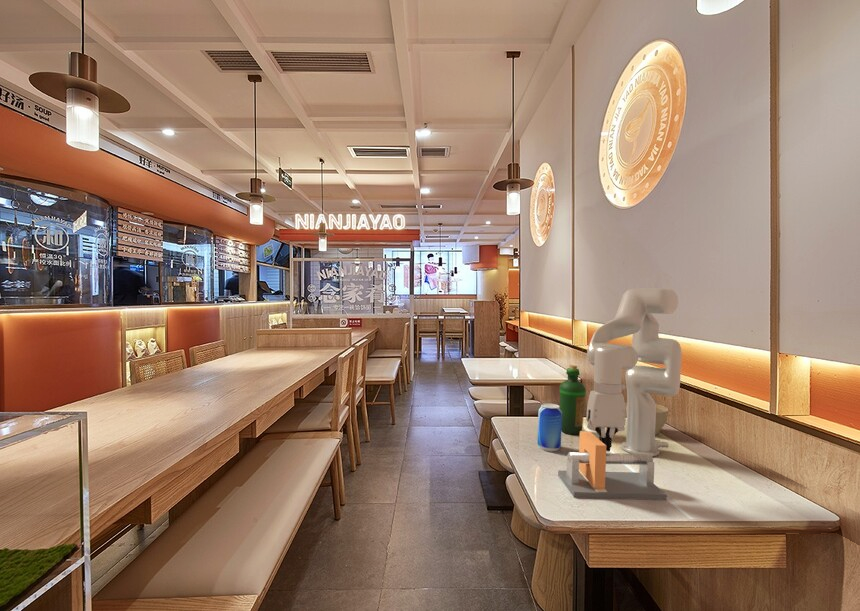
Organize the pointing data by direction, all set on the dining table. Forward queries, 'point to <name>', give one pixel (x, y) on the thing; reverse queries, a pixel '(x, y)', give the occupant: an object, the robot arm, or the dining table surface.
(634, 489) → the base board
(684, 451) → the dining table surface
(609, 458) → the pipe
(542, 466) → the dining table surface
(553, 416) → the beer can
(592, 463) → the collar
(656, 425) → the planter bowl
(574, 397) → the bottle
